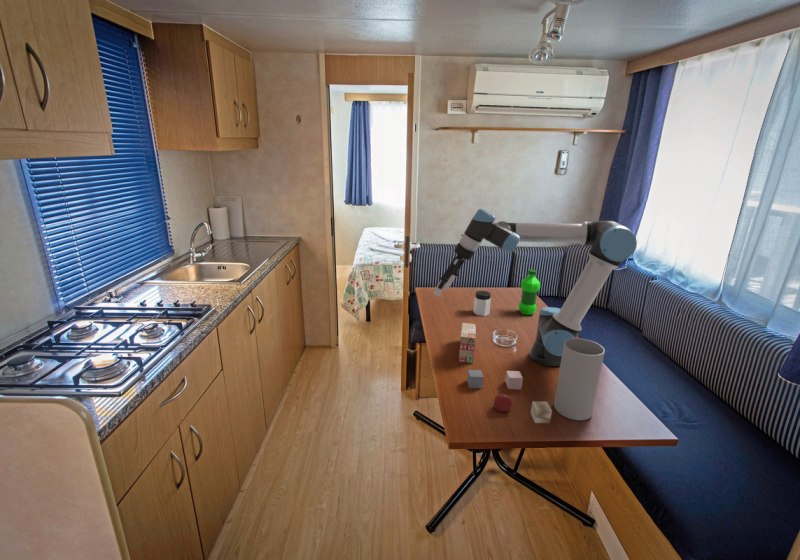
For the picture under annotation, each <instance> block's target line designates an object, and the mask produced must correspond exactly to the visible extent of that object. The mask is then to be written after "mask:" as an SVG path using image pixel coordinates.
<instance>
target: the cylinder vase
mask: <svg viewBox="0 0 800 560" xmlns="http://www.w3.org/2000/svg"><path fill="white" fill-rule="evenodd" d="M605 351H606V350H605V348H604V347H603V346H602V345H601V344H599V343H597V342H596V341H593V340H590V339H586V338H578V337H576V338H571V339H567V340H565V342H564V347H563V353H562V359H561V365H560V366H559V371H558V372H559V373H558V378H557V383H556V389H555V396H554V399H553V400H554V401H553V408H554V409H555V411H556V412H557V413H558V414H559V415H561V416H562V417H564V418H567V419H569V420H572V421H586V420H588V419H590V418H591V417H592V415H593V411H594V406H595V401H596V396H597V392H598V387H599V382H600V376H601V371H602V367H603V362H604V358H605V357H604V356H605Z"/></svg>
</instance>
